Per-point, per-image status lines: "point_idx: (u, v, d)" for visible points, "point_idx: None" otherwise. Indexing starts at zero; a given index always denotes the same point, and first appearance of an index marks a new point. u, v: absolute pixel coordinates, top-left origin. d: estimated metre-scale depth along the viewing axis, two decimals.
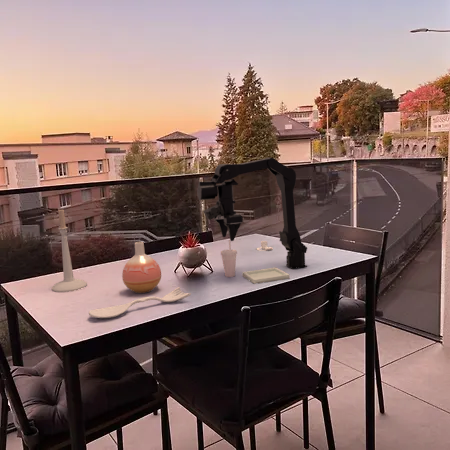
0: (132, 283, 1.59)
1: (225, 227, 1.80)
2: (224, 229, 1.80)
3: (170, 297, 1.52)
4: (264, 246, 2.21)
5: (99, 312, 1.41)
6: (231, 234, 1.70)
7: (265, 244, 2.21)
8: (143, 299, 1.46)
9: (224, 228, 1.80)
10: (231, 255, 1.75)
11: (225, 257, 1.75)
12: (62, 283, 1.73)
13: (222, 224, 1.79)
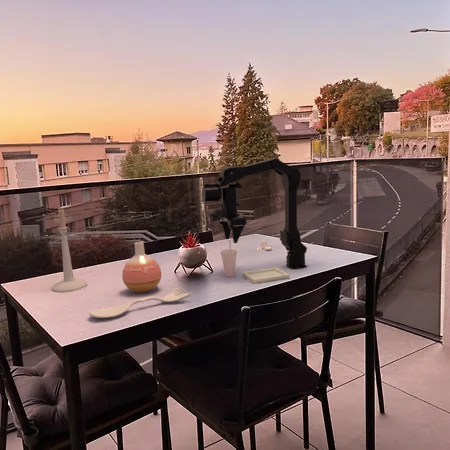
0: (132, 283, 1.59)
1: (228, 229, 1.81)
2: (227, 231, 1.81)
3: (171, 297, 1.52)
4: (264, 246, 2.21)
5: (99, 312, 1.41)
6: (234, 236, 1.72)
7: (265, 244, 2.21)
8: (143, 299, 1.46)
9: (227, 230, 1.81)
10: (231, 255, 1.75)
11: (225, 257, 1.75)
12: (62, 283, 1.73)
13: (225, 226, 1.81)
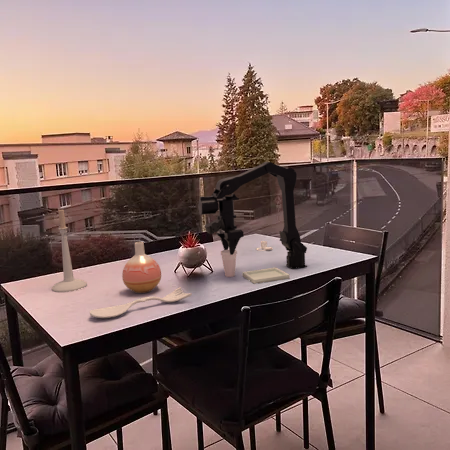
0: (132, 283, 1.59)
1: (227, 241, 1.81)
2: (225, 243, 1.80)
3: (171, 297, 1.52)
4: (264, 246, 2.21)
5: (100, 312, 1.41)
6: (231, 248, 1.73)
7: (265, 244, 2.21)
8: (144, 299, 1.46)
9: (226, 242, 1.80)
10: (231, 255, 1.75)
11: (225, 257, 1.75)
12: (62, 283, 1.73)
13: (224, 238, 1.80)
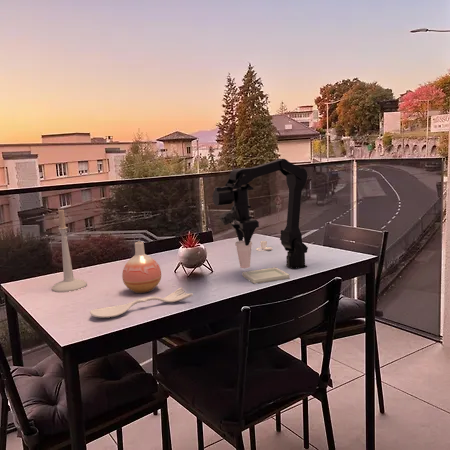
0: (132, 283, 1.59)
1: (241, 232, 1.78)
2: (240, 234, 1.78)
3: (172, 297, 1.52)
4: (264, 246, 2.21)
5: (100, 312, 1.42)
6: (246, 239, 1.70)
7: (265, 244, 2.21)
8: (144, 299, 1.46)
9: (240, 233, 1.78)
10: (246, 246, 1.72)
11: (240, 248, 1.73)
12: (62, 283, 1.73)
13: (238, 229, 1.78)
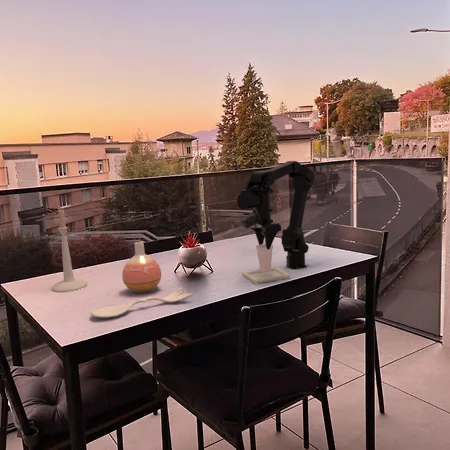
0: (132, 283, 1.59)
1: (262, 236, 1.75)
2: (260, 238, 1.75)
3: (172, 297, 1.52)
4: None
5: (101, 311, 1.42)
6: (267, 242, 1.68)
7: None
8: (145, 299, 1.46)
9: (261, 236, 1.75)
10: (267, 250, 1.70)
11: (261, 252, 1.70)
12: (62, 283, 1.73)
13: (259, 232, 1.75)
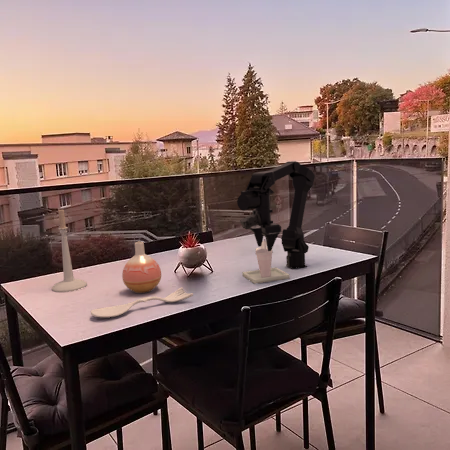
0: (132, 283, 1.59)
1: (260, 236, 1.76)
2: (259, 239, 1.76)
3: (173, 297, 1.52)
4: (263, 246, 2.21)
5: (101, 311, 1.42)
6: (269, 244, 1.66)
7: None
8: (145, 299, 1.46)
9: (259, 237, 1.76)
10: (267, 255, 1.70)
11: (261, 257, 1.70)
12: (62, 283, 1.73)
13: (257, 233, 1.76)
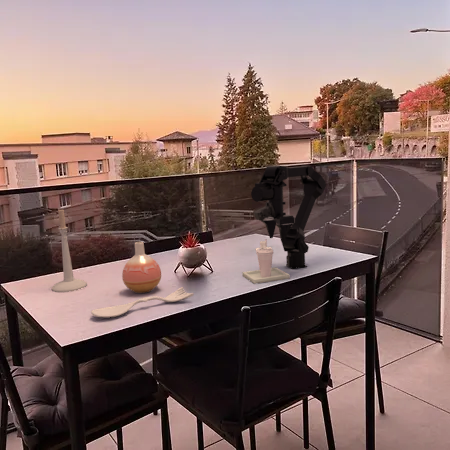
0: (132, 283, 1.59)
1: (272, 228, 1.81)
2: (271, 230, 1.81)
3: (173, 297, 1.52)
4: (263, 246, 2.21)
5: (102, 311, 1.42)
6: (282, 235, 1.72)
7: (264, 244, 2.21)
8: (146, 299, 1.46)
9: (271, 229, 1.81)
10: (268, 255, 1.70)
11: (261, 257, 1.70)
12: (62, 283, 1.73)
13: (269, 225, 1.81)
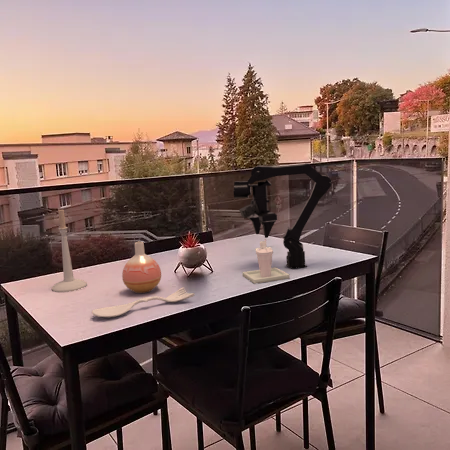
0: (132, 283, 1.59)
1: (258, 225, 1.91)
2: (257, 227, 1.90)
3: (174, 297, 1.52)
4: (263, 246, 2.21)
5: (102, 311, 1.42)
6: (266, 231, 1.81)
7: (264, 244, 2.21)
8: (146, 299, 1.46)
9: (257, 225, 1.90)
10: (267, 255, 1.70)
11: (261, 257, 1.70)
12: (62, 283, 1.73)
13: (255, 222, 1.90)
